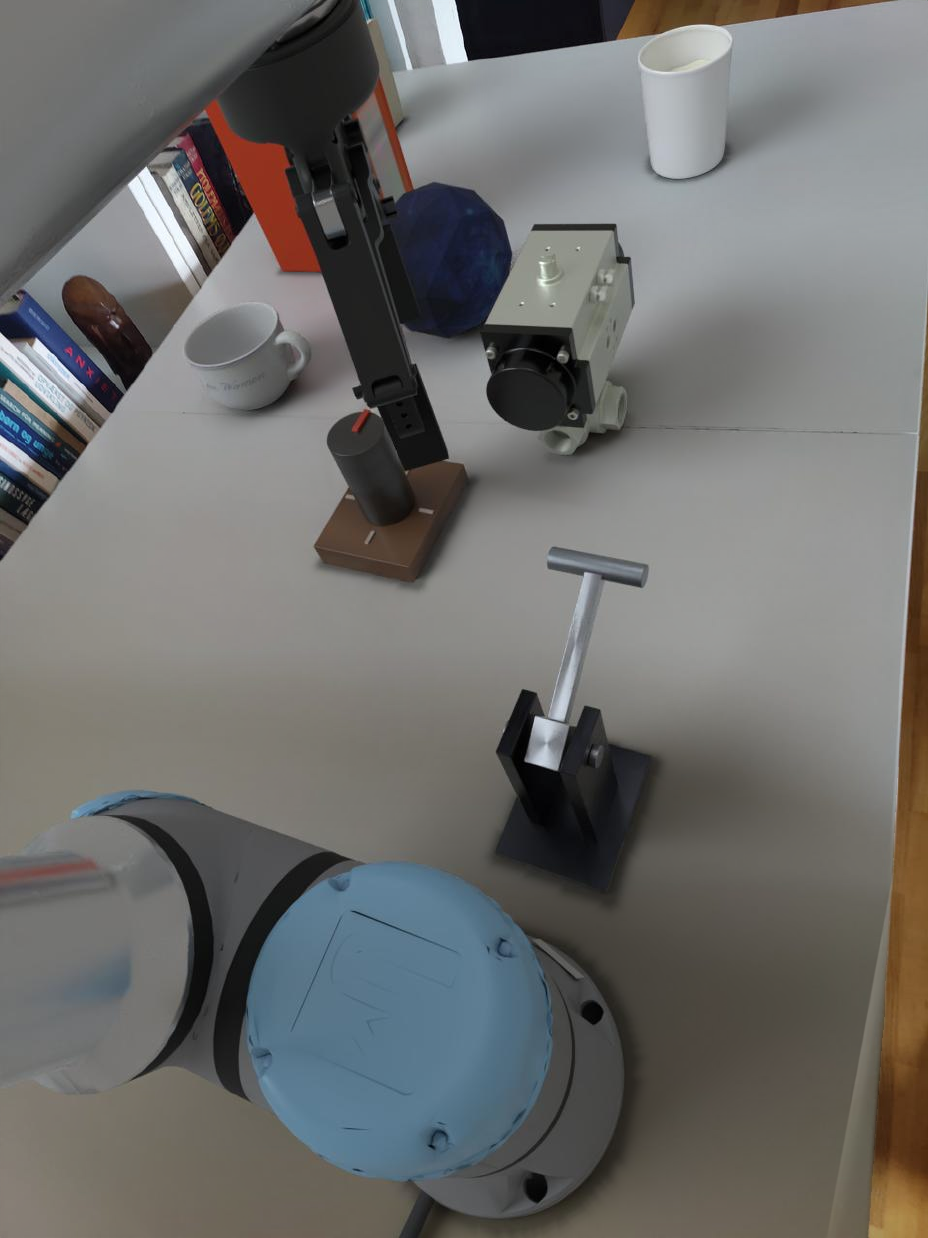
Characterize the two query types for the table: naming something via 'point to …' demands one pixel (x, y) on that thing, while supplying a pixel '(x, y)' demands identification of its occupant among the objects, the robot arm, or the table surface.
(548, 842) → the tap bracket
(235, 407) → the teacup
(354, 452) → the dial knob
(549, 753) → the tap lever
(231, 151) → the file binder
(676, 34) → the candle holder
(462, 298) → the decorative orb
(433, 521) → the dial panel
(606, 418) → the ball valve
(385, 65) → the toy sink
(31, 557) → the table surface
